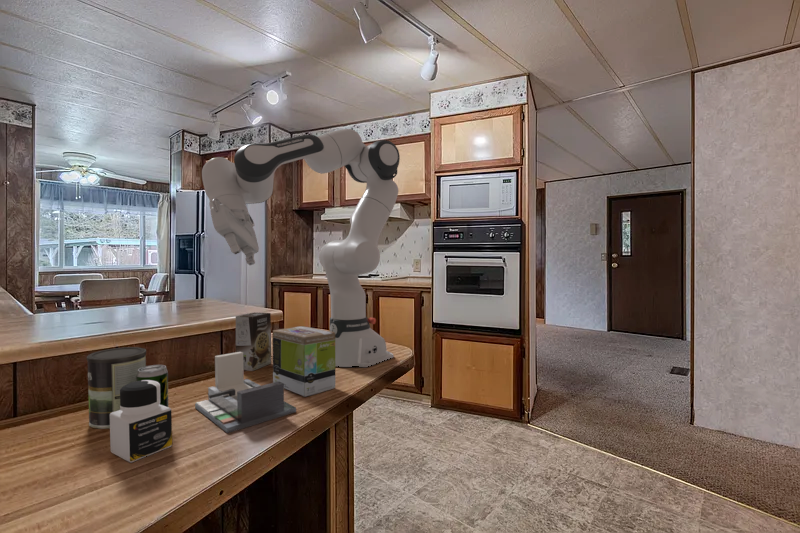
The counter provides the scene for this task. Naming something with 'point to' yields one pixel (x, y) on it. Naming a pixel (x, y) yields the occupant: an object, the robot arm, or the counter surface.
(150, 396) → the medicine bottle
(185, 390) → the counter surface
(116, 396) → the coffee can
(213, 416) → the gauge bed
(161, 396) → the green drink can
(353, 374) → the counter surface
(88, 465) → the counter surface
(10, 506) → the counter surface
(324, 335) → the tea box
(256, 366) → the coffee box
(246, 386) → the plunger
